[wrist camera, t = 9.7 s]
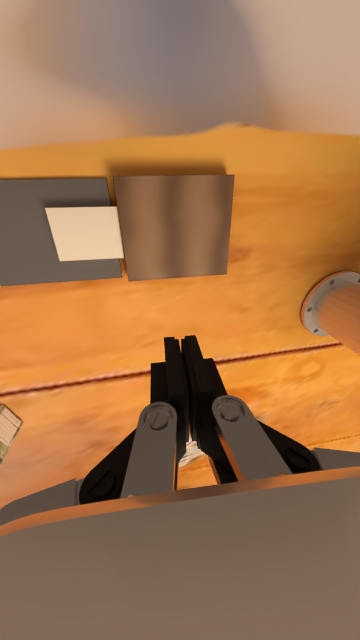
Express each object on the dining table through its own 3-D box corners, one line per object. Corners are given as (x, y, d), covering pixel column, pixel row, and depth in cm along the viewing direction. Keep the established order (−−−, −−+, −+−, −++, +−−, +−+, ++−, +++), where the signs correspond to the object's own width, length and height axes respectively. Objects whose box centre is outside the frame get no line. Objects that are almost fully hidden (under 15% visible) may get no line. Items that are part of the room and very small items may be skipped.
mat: (106, 178, 26) (106, 178, 25) (122, 276, 31) (122, 277, 31) (-44, 180, 23) (-46, 180, 23) (2, 285, 29) (1, 286, 29)
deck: (227, 177, 27) (234, 174, 25) (221, 269, 33) (226, 274, 31) (115, 178, 26) (112, 176, 23) (129, 276, 31) (128, 281, 29)
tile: (118, 206, 27) (117, 206, 25) (124, 255, 30) (124, 257, 28) (49, 207, 26) (44, 207, 24) (63, 258, 28) (59, 261, 27)
